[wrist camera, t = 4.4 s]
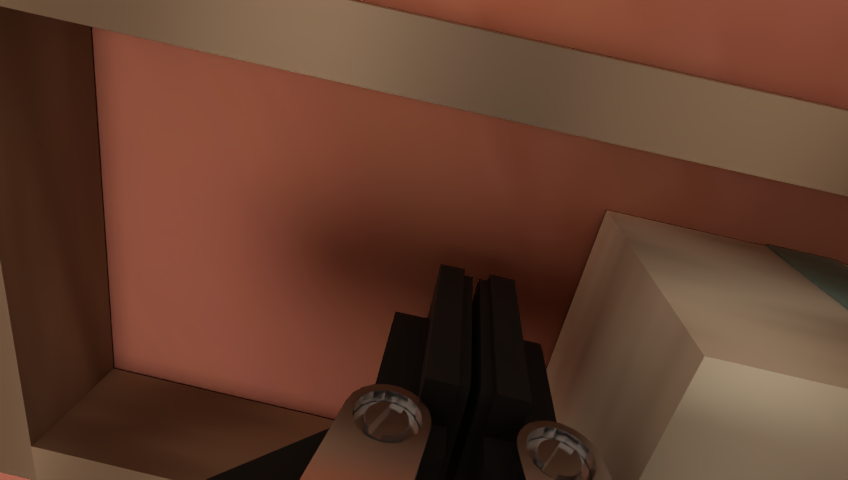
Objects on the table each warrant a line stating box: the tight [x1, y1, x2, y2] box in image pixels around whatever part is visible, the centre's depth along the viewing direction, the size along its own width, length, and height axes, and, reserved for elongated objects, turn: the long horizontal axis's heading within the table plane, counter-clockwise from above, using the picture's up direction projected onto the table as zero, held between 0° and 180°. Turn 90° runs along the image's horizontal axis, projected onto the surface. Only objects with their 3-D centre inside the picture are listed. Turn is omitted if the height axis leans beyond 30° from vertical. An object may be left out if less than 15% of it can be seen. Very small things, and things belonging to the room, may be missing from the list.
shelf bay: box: [0, 0, 848, 480], centre depth 11 cm, size 21×12×3 cm, turn 78°
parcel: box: [546, 210, 848, 480], centre depth 10 cm, size 9×6×6 cm
